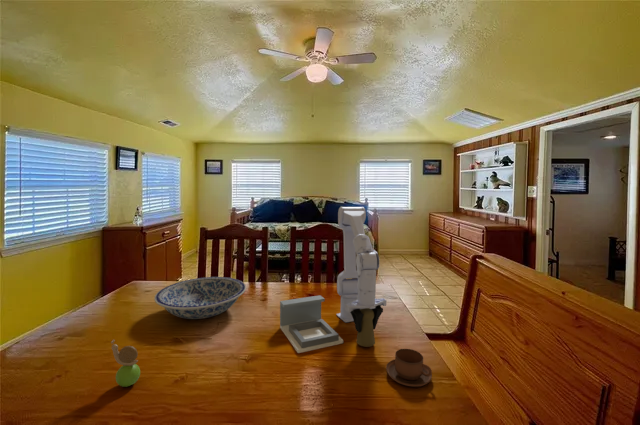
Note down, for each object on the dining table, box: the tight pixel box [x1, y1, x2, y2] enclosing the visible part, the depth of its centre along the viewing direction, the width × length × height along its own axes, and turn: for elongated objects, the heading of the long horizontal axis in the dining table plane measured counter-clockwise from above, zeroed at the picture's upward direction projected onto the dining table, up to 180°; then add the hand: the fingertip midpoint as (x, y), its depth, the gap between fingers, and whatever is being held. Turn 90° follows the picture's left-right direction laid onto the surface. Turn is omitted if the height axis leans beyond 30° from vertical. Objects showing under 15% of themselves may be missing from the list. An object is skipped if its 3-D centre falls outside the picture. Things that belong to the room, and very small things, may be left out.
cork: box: [356, 308, 376, 348], centre depth 101 cm, size 6×6×11 cm
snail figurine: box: [110, 339, 141, 388], centre depth 80 cm, size 5×6×12 cm
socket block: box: [279, 295, 344, 354], centre depth 108 cm, size 16×19×10 cm
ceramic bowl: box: [154, 276, 247, 320], centre depth 126 cm, size 34×34×10 cm
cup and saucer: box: [385, 348, 433, 388], centre depth 85 cm, size 12×12×6 cm
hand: (365, 329), depth 101 cm, fingers closed on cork, 5 cm apart
